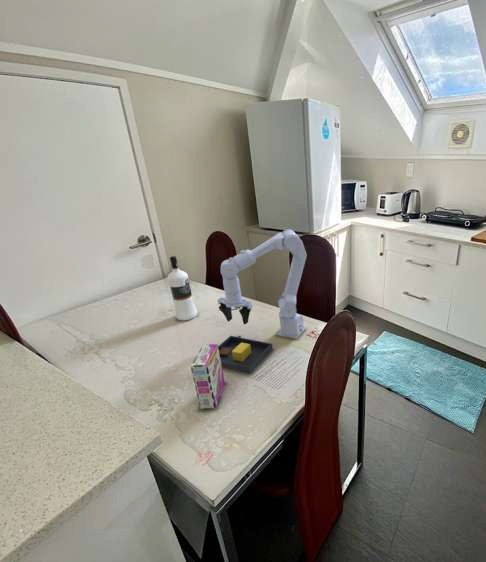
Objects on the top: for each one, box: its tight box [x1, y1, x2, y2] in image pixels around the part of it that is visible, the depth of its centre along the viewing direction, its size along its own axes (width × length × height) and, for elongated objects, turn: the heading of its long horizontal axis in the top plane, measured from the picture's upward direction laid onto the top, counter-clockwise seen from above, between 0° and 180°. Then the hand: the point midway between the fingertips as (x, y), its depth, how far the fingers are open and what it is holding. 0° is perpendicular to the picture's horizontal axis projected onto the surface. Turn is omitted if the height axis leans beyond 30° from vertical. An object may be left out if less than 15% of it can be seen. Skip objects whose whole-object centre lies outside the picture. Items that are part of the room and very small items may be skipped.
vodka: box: [166, 255, 198, 322], centre depth 142 cm, size 9×9×30 cm
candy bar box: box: [190, 343, 226, 410], centre depth 97 cm, size 11×5×16 cm, turn 5°
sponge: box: [232, 342, 252, 362], centre depth 117 cm, size 4×6×4 cm, turn 162°
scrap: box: [219, 347, 233, 357], centre depth 120 cm, size 4×4×1 cm
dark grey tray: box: [218, 335, 273, 375], centre depth 118 cm, size 19×15×3 cm
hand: (237, 321), depth 125 cm, fingers open, 7 cm apart
